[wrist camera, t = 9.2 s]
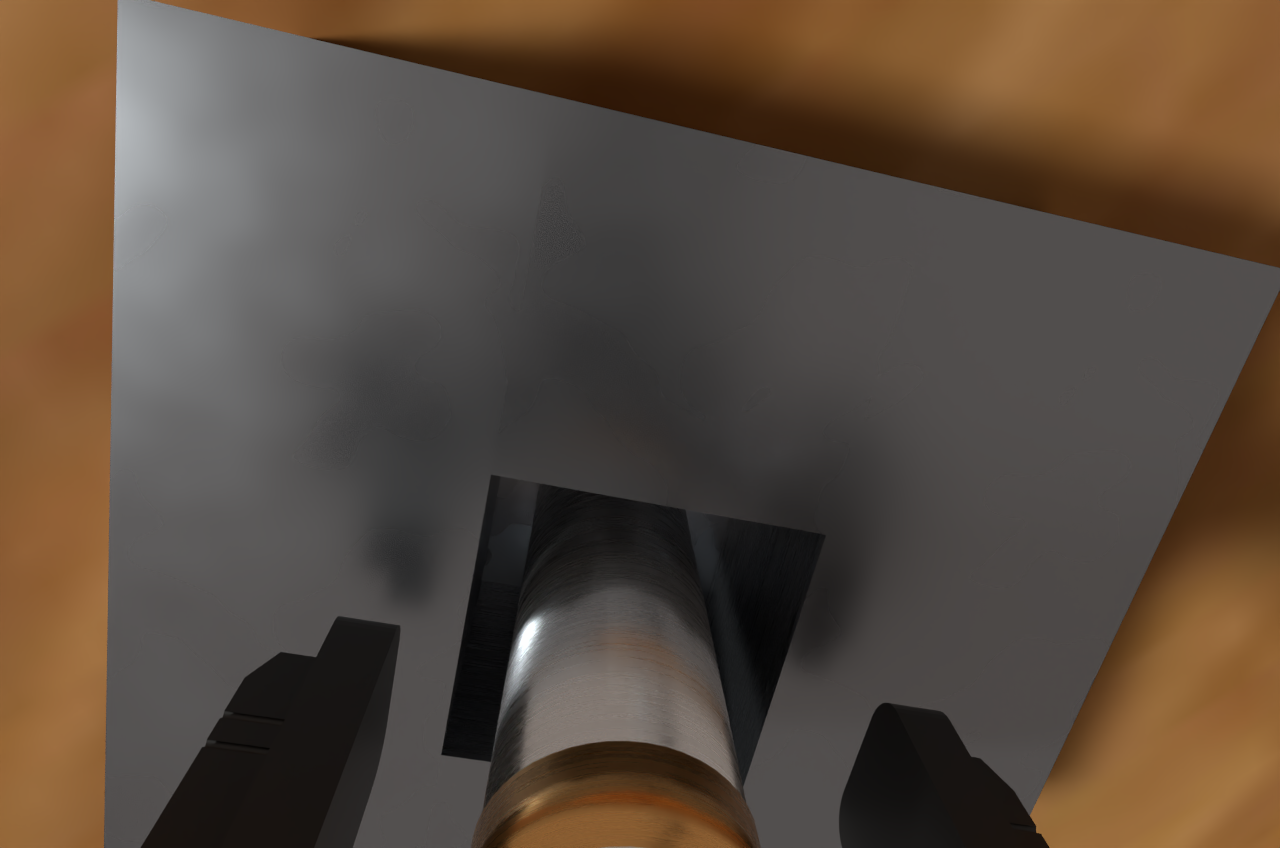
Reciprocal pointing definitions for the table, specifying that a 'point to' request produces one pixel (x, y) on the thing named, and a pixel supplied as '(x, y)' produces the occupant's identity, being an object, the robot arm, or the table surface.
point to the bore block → (613, 415)
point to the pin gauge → (612, 691)
